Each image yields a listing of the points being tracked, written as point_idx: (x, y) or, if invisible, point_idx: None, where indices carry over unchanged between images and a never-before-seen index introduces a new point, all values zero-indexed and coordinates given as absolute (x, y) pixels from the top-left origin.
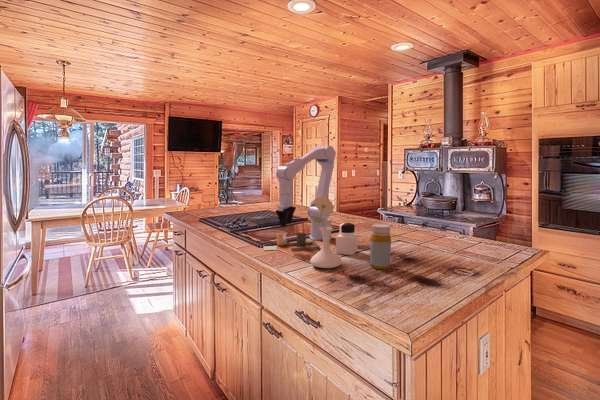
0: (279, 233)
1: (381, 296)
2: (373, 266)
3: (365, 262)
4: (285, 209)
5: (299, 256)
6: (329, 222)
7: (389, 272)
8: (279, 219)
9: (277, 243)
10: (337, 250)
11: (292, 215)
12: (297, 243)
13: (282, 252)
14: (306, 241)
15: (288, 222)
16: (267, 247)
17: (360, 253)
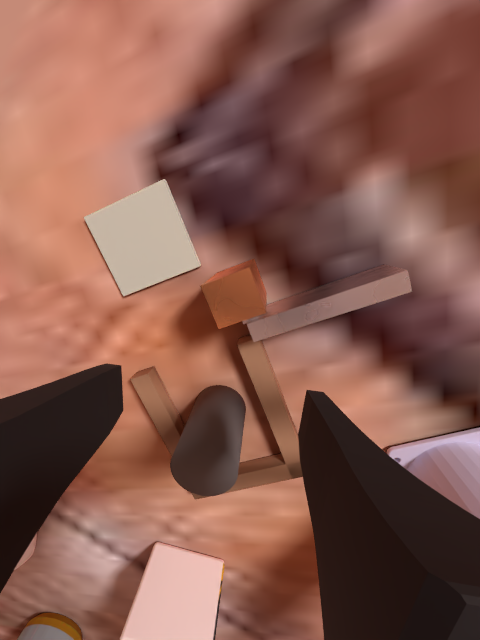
0: (246, 292)
1: None
2: (28, 622)
3: (83, 605)
4: (388, 591)
5: None
6: None
7: None
8: (13, 401)
9: (224, 270)
10: (149, 559)
11: (317, 551)
12: (196, 406)
13: (94, 332)
14: (293, 436)
15: (303, 416)
16: (147, 219)
17: None
